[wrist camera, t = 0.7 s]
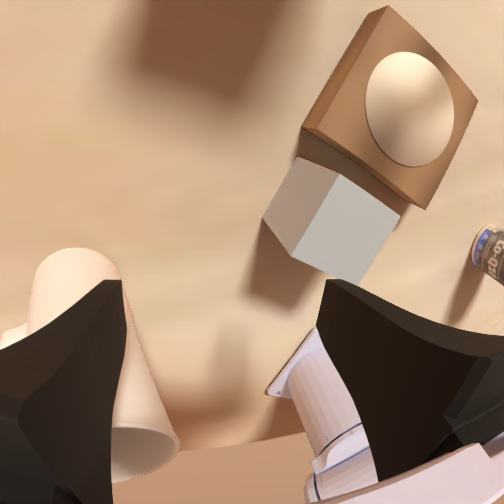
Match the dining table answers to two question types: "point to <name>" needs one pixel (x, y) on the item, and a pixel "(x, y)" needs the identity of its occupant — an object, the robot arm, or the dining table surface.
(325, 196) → the block
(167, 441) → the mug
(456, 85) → the plinth
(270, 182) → the dining table surface
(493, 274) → the pill bottle
